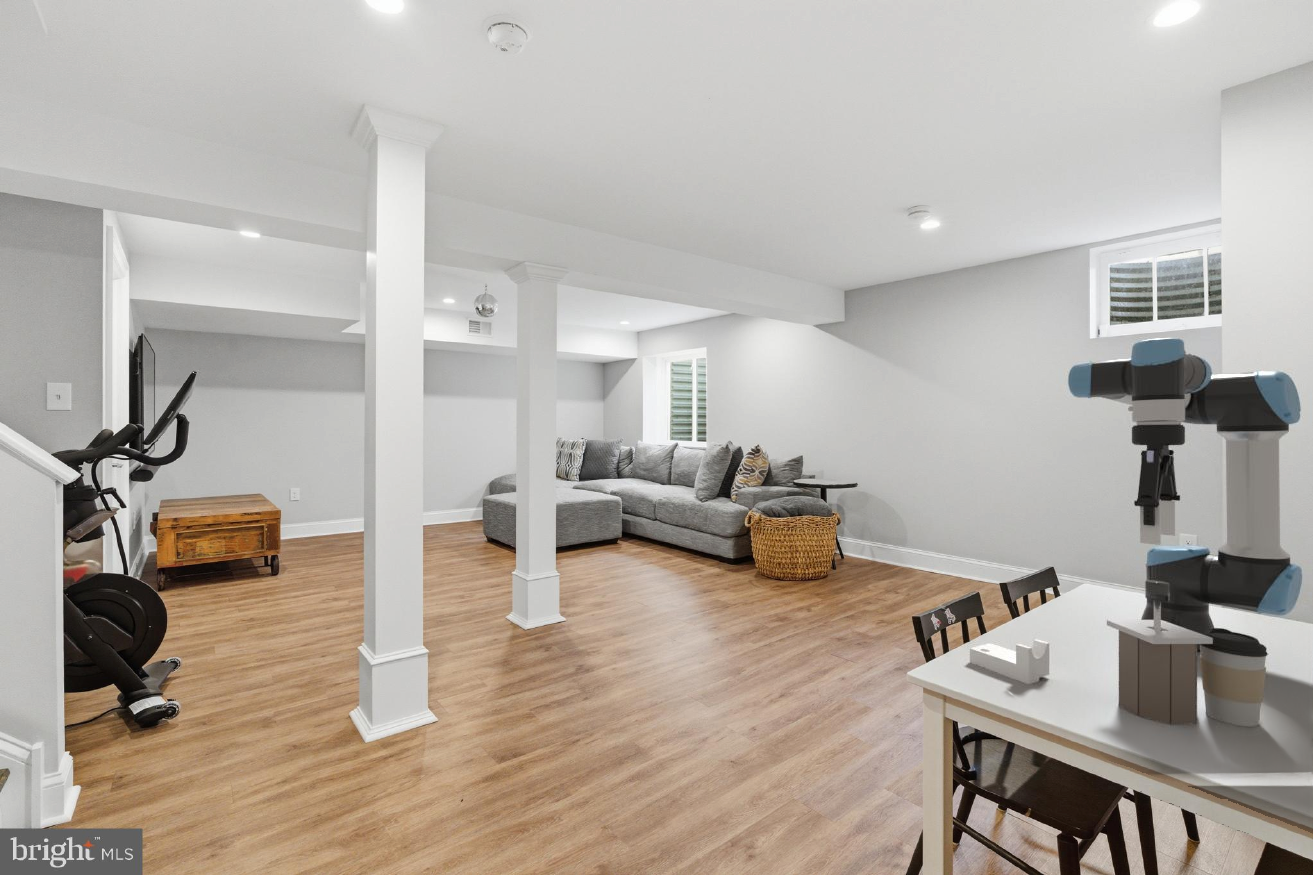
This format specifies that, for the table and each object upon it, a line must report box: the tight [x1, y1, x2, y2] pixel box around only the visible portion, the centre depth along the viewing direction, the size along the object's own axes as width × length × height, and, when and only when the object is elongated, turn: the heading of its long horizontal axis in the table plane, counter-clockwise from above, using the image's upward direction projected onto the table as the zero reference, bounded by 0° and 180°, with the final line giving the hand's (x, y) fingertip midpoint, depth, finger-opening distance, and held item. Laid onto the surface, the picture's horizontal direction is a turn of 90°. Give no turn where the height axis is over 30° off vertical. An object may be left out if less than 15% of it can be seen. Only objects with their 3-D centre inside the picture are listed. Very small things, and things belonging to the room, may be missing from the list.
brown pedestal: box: [1106, 619, 1213, 725], centre depth 111 cm, size 11×11×15 cm
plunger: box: [1144, 579, 1169, 631], centre depth 111 cm, size 7×7×19 cm
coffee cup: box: [1199, 627, 1269, 727], centre depth 108 cm, size 9×9×15 cm
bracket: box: [969, 638, 1050, 685], centre depth 130 cm, size 13×7×8 cm, turn 27°
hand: (1158, 539), depth 111 cm, fingers open, 13 cm apart
